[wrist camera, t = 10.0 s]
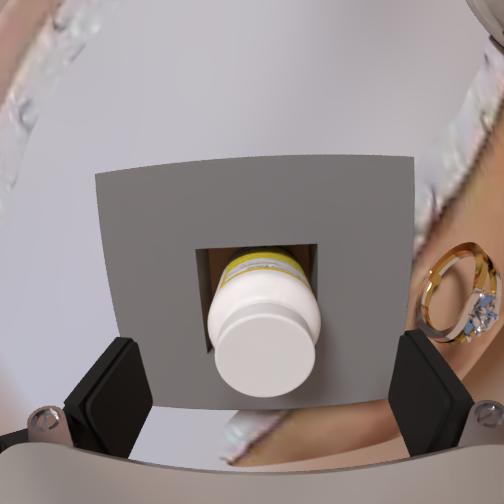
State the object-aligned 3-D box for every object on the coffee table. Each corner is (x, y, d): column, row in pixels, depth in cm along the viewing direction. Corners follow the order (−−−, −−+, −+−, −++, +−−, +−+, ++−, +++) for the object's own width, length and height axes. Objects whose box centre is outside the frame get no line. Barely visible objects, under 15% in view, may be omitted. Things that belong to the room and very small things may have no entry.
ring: (417, 320, 23) (465, 374, 15) (390, 302, 22) (436, 356, 15) (465, 248, 21) (530, 280, 13) (441, 225, 21) (507, 251, 13)
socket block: (385, 158, 20) (413, 157, 16) (374, 364, 24) (391, 397, 19) (125, 172, 21) (95, 174, 17) (156, 371, 25) (139, 404, 20)
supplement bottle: (277, 329, 22) (284, 426, 13) (209, 292, 22) (173, 376, 12) (319, 265, 21) (359, 336, 12) (248, 224, 21) (235, 269, 11)
